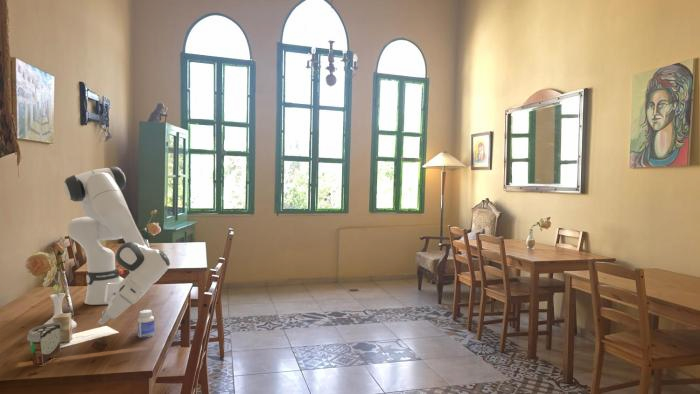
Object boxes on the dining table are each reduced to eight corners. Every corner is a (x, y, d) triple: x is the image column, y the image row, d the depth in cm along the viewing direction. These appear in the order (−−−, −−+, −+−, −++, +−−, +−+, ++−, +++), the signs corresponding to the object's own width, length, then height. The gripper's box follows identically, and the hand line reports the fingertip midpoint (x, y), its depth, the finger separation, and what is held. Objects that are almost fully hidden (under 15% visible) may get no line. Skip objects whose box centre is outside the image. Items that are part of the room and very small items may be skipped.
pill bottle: (158, 336, 161) (157, 309, 161) (146, 341, 156) (146, 314, 156) (146, 334, 163) (145, 308, 163) (134, 339, 158) (133, 312, 158)
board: (106, 328, 169) (106, 325, 169) (119, 335, 162) (119, 332, 162) (44, 344, 154) (44, 340, 154) (56, 352, 147) (56, 348, 147)
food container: (42, 352, 147) (41, 322, 146) (62, 351, 148) (61, 321, 147) (18, 368, 135) (17, 335, 134) (40, 367, 135) (38, 335, 135)
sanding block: (72, 338, 156) (71, 312, 156) (69, 342, 152) (68, 316, 152) (57, 340, 155) (56, 314, 154) (54, 344, 150) (53, 318, 150)
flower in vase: (44, 329, 169) (41, 263, 168) (79, 324, 174) (77, 260, 172) (35, 340, 157) (33, 270, 156) (73, 336, 162) (71, 267, 161)
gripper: (126, 277, 170) (97, 305, 167) (122, 290, 151) (89, 322, 148) (139, 287, 172) (111, 316, 168) (137, 302, 153) (105, 334, 150)
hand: (101, 319), depth 158 cm, fingers open, 8 cm apart
